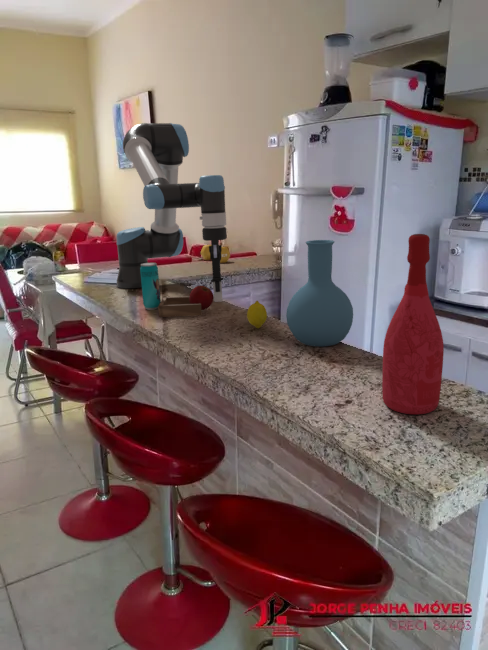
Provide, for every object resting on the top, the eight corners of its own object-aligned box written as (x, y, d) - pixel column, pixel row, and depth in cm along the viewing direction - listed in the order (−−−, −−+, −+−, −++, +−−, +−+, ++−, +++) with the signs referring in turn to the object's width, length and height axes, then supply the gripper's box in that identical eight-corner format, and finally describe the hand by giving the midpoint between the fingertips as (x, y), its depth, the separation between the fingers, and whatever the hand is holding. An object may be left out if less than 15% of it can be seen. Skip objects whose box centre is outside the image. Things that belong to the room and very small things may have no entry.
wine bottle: (416, 423, 83) (427, 238, 75) (369, 404, 90) (374, 234, 82) (451, 406, 88) (464, 233, 80) (404, 390, 96) (412, 230, 88)
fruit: (244, 327, 142) (243, 299, 140) (262, 324, 144) (261, 297, 142) (251, 332, 137) (250, 303, 135) (270, 329, 139) (269, 301, 137)
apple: (194, 313, 159) (192, 288, 157) (187, 308, 166) (185, 285, 164) (217, 310, 162) (215, 286, 160) (209, 306, 169) (207, 282, 167)
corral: (164, 307, 170) (163, 297, 169) (203, 305, 170) (202, 295, 169) (159, 317, 157) (158, 306, 156) (201, 315, 157) (200, 304, 156)
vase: (360, 335, 131) (363, 238, 124) (342, 354, 117) (343, 246, 110) (300, 329, 138) (300, 237, 132) (276, 346, 124) (274, 244, 118)
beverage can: (157, 310, 166) (153, 265, 162) (141, 310, 167) (136, 265, 163) (163, 306, 171) (160, 262, 167) (147, 306, 172) (143, 262, 168)
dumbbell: (231, 262, 266) (231, 246, 264) (217, 264, 262) (216, 248, 260) (214, 258, 282) (213, 243, 280) (199, 260, 277) (199, 245, 275)
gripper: (202, 225, 163) (207, 297, 169) (201, 229, 150) (206, 306, 157) (226, 224, 163) (229, 296, 169) (226, 228, 151) (230, 305, 157)
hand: (218, 300), depth 163 cm, fingers closed
